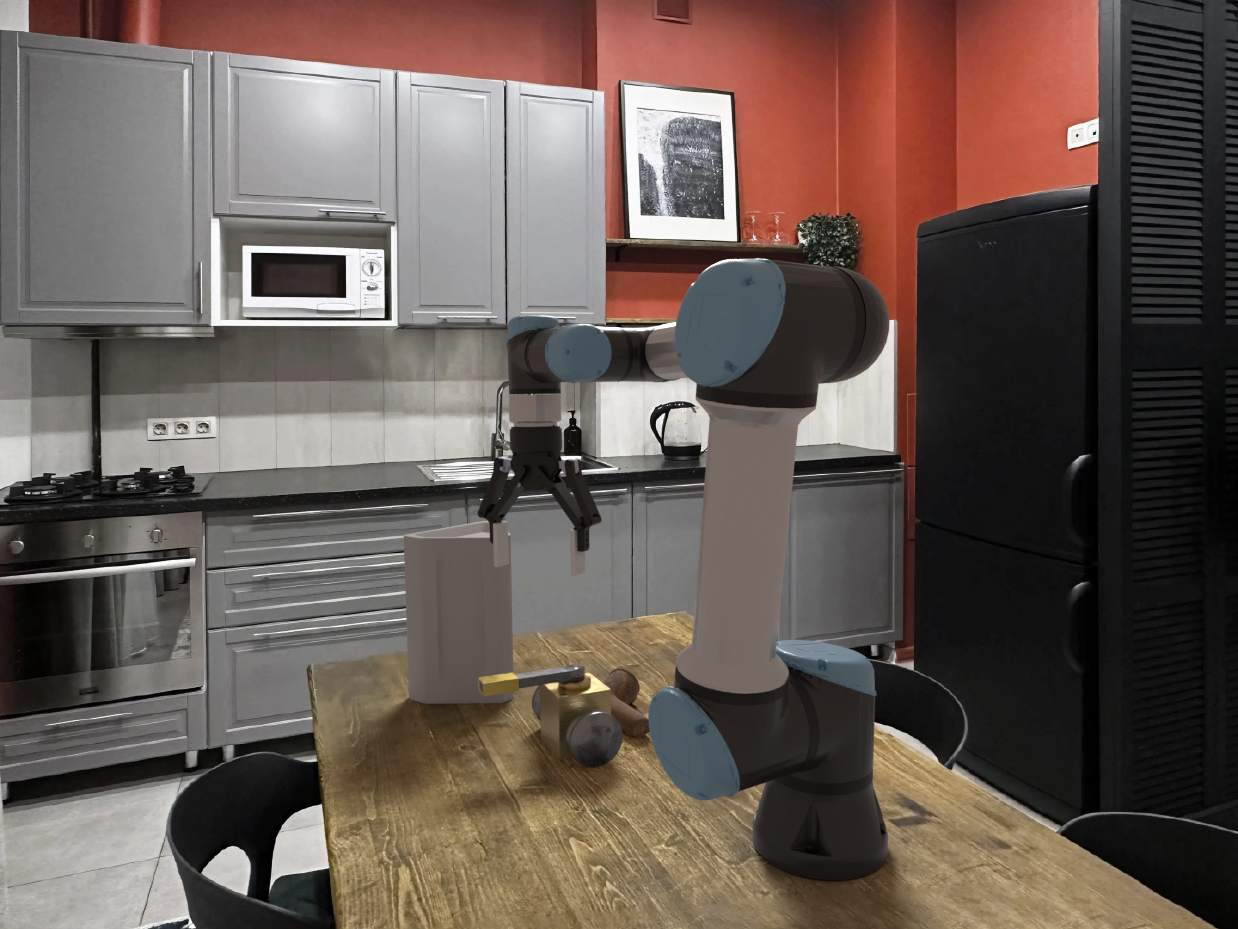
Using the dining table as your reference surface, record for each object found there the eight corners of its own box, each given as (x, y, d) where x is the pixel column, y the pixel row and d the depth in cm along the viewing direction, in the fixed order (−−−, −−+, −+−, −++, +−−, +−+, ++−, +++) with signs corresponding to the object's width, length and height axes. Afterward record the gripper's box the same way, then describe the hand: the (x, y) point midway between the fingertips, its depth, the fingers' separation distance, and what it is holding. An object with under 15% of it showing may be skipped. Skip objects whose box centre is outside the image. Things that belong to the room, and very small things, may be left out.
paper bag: (465, 718, 138) (460, 545, 136) (406, 697, 147) (401, 535, 145) (547, 684, 153) (544, 528, 150) (489, 668, 162) (485, 520, 160)
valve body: (624, 761, 122) (623, 694, 121) (571, 772, 118) (570, 703, 118) (579, 719, 137) (578, 659, 136) (531, 728, 134) (529, 666, 133)
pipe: (629, 713, 127) (681, 688, 133) (568, 682, 141) (617, 660, 146) (635, 753, 129) (686, 726, 134) (574, 718, 142) (622, 695, 148)
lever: (580, 673, 129) (580, 662, 129) (587, 679, 126) (587, 667, 126) (478, 689, 122) (478, 677, 122) (484, 696, 120) (484, 684, 120)
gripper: (623, 424, 122) (625, 572, 124) (483, 423, 134) (487, 558, 136) (596, 426, 116) (598, 582, 117) (451, 425, 128) (455, 566, 130)
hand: (538, 569), depth 127 cm, fingers open, 13 cm apart
